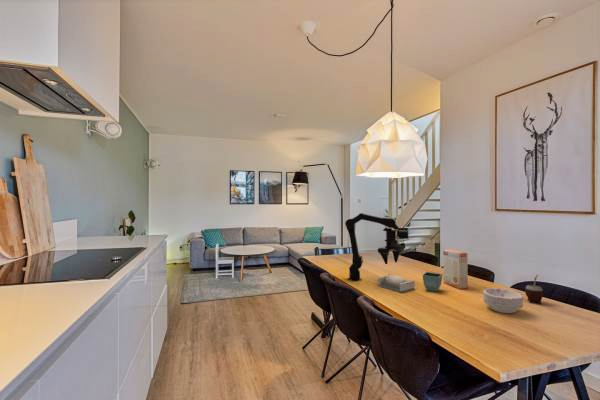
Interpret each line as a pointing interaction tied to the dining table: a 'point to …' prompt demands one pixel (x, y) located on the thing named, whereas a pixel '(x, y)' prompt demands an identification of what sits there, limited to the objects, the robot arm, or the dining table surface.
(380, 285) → the cradle
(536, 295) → the mate gourd
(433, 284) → the flower pot
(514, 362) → the dining table surface
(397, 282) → the paper roll
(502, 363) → the dining table surface
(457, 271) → the cracker box
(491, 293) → the grey stone bowl
